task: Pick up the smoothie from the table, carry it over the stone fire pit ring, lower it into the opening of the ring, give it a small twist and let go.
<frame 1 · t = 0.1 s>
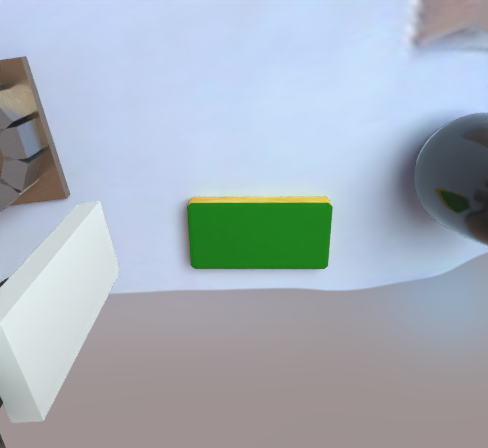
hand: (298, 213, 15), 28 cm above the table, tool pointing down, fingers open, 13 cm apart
pump dispenser: (455, 159, 43), on the table
dish sponge: (259, 226, 47), on the table
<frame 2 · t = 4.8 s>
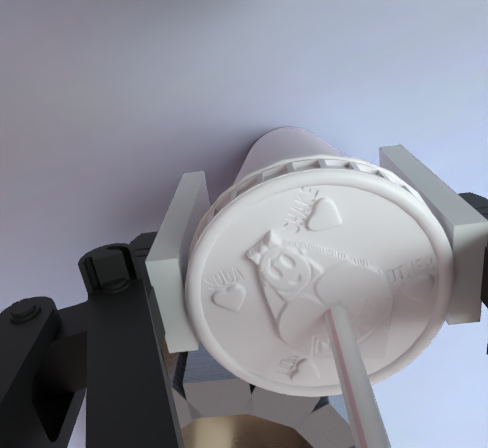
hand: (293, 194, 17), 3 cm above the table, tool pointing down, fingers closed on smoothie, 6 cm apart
smoothie: (287, 168, 20), on the table, touching gripper
stone fire pit ring: (239, 403, 25), on the table
when the fingers open (6 cm above the table, at t = 9.7 s): smoothie drops 2 cm, resting on stone fire pit ring.
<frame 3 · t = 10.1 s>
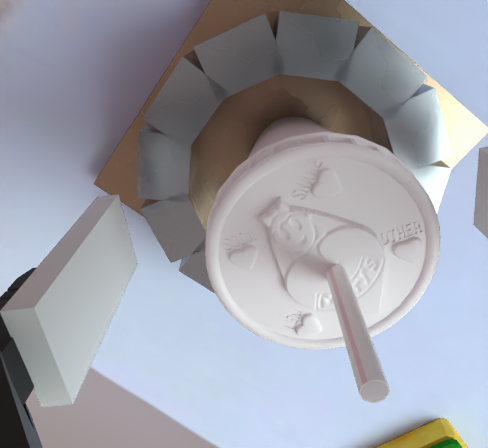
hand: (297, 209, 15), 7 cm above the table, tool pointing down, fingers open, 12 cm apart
smoothie: (292, 155, 21), point 1 cm above the table, touching stone fire pit ring
stone fire pit ring: (283, 151, 22), on the table
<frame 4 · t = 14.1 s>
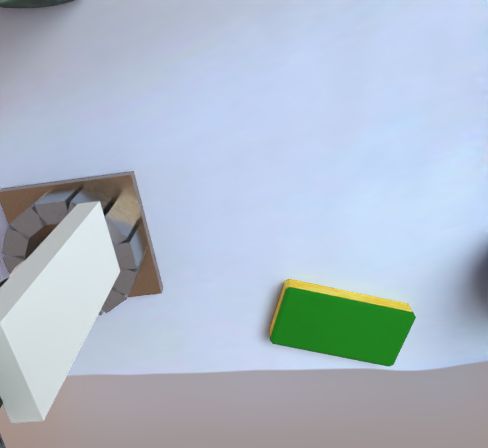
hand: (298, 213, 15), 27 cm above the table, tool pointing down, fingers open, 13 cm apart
stone fire pit ring: (86, 240, 46), on the table
dish sponge: (337, 314, 50), on the table
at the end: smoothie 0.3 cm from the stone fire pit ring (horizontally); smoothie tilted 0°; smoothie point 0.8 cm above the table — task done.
